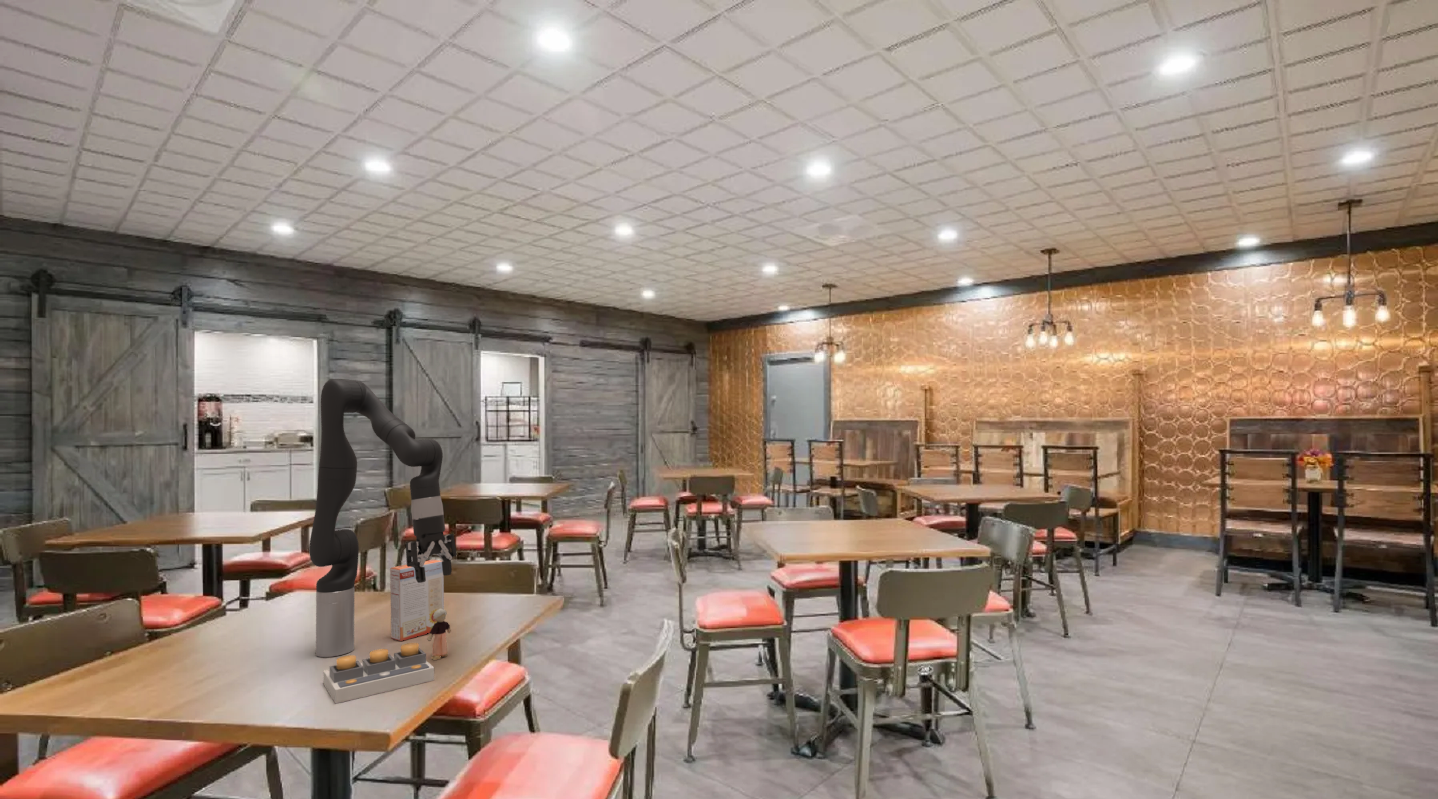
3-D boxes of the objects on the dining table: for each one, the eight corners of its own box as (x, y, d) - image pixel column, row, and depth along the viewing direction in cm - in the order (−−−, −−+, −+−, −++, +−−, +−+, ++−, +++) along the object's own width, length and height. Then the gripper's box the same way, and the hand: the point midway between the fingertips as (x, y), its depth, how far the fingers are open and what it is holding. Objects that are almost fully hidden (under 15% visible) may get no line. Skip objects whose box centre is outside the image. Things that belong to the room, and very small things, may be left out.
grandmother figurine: (438, 661, 175) (438, 612, 176) (425, 661, 176) (425, 612, 177) (455, 652, 183) (455, 605, 184) (442, 651, 184) (442, 604, 184)
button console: (323, 683, 162) (323, 661, 162) (415, 663, 175) (415, 642, 175) (335, 703, 149) (335, 679, 149) (434, 680, 162) (434, 658, 163)
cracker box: (433, 626, 208) (433, 558, 209) (444, 629, 204) (444, 560, 205) (389, 638, 197) (389, 566, 197) (400, 642, 193) (400, 568, 194)
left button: (335, 666, 158) (335, 657, 158) (354, 662, 161) (354, 654, 161) (338, 671, 155) (338, 662, 155) (357, 666, 157) (357, 658, 158)
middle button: (367, 659, 162) (368, 651, 163) (385, 656, 165) (385, 647, 165) (371, 663, 159) (371, 655, 159) (389, 660, 162) (389, 651, 162)
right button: (399, 653, 167) (399, 645, 167) (416, 649, 169) (416, 641, 169) (403, 657, 164) (403, 648, 164) (420, 653, 166) (420, 645, 166)
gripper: (438, 513, 182) (444, 574, 180) (394, 520, 169) (401, 585, 167) (459, 510, 179) (466, 571, 178) (416, 517, 166) (423, 583, 165)
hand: (434, 578), depth 173 cm, fingers open, 8 cm apart
